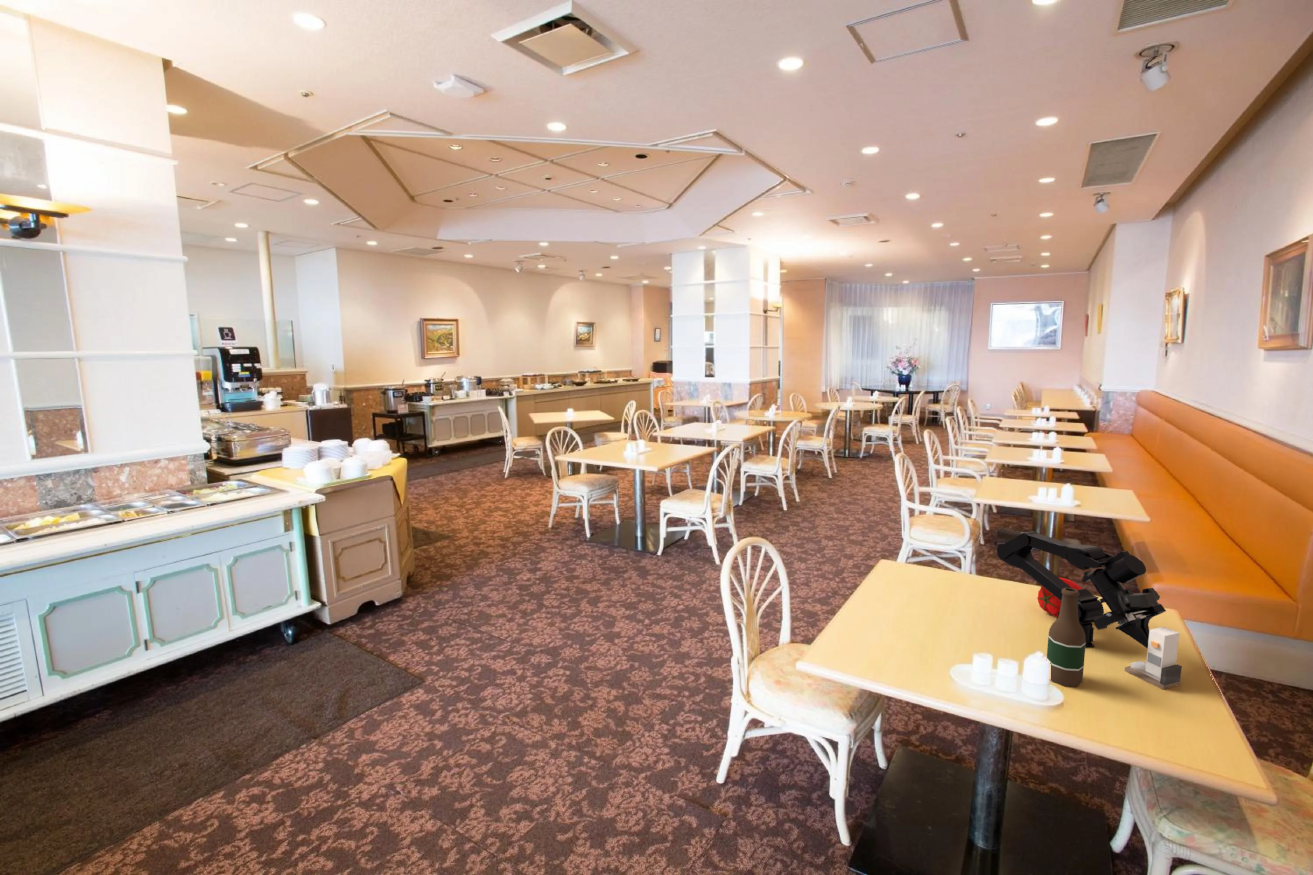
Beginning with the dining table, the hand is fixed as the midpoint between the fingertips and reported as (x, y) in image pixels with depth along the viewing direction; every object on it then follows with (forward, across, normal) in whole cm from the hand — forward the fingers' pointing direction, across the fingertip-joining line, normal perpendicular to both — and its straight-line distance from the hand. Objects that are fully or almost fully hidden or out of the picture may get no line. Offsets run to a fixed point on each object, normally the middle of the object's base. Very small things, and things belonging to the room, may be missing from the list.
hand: (1151, 648), depth 153 cm
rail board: (+6, 0, +5) cm, 8 cm away
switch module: (+5, 0, +2) cm, 6 cm away
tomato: (-18, +12, +30) cm, 37 cm away
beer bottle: (+1, -21, +10) cm, 23 cm away
